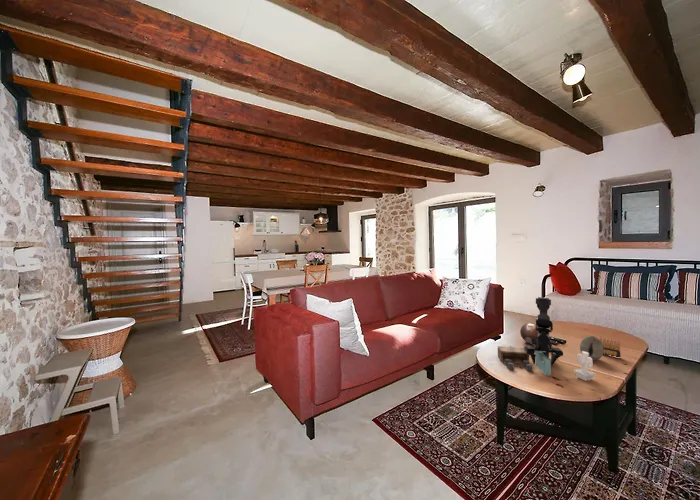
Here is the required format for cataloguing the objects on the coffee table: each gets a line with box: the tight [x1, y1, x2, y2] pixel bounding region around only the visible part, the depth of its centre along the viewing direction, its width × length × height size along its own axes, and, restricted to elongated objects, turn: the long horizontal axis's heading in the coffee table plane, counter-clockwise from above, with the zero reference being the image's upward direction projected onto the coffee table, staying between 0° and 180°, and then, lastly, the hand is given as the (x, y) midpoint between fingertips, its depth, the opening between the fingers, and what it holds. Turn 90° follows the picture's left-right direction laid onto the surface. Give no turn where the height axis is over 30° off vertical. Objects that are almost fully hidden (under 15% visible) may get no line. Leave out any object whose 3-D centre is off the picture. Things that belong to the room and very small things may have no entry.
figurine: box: [572, 351, 597, 382], centre depth 161 cm, size 7×9×15 cm
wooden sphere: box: [519, 322, 539, 345], centre depth 213 cm, size 15×15×15 cm
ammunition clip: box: [599, 336, 621, 357], centre depth 189 cm, size 11×2×12 cm, turn 41°
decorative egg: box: [579, 335, 604, 361], centre depth 184 cm, size 12×12×15 cm
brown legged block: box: [497, 345, 534, 372], centre depth 181 cm, size 16×18×7 cm
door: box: [535, 352, 552, 377], centre depth 173 cm, size 14×4×9 cm, turn 167°
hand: (542, 364), depth 173 cm, fingers open, 9 cm apart
